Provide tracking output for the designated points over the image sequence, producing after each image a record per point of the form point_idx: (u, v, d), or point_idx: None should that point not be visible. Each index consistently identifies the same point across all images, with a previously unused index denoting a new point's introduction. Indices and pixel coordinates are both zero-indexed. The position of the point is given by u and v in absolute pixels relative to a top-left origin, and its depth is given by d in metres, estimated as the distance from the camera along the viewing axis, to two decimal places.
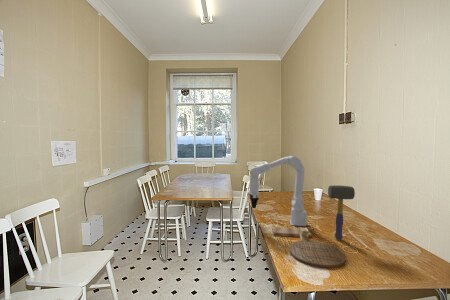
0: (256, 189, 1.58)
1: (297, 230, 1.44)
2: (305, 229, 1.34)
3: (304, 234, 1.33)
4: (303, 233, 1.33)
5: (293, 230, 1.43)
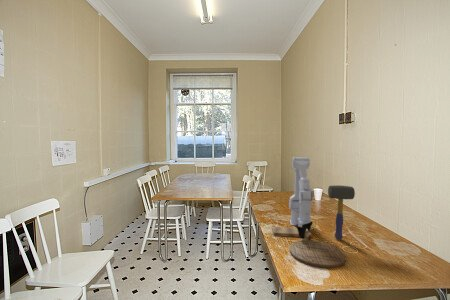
0: (305, 216, 1.32)
1: (297, 230, 1.44)
2: None
3: None
4: None
5: (293, 230, 1.43)
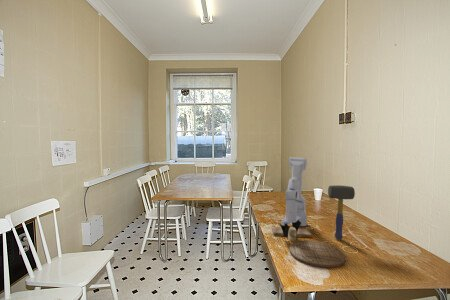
0: (290, 216, 1.33)
1: None
2: (293, 229, 1.35)
3: (292, 233, 1.33)
4: (291, 232, 1.33)
5: None
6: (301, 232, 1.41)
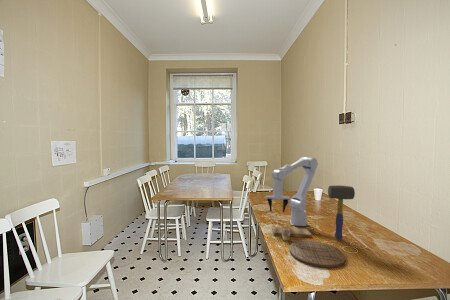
0: (274, 192, 1.50)
1: (297, 230, 1.44)
2: (287, 228, 1.35)
3: (285, 233, 1.33)
4: (284, 232, 1.33)
5: (293, 230, 1.43)
6: (301, 232, 1.41)
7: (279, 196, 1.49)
